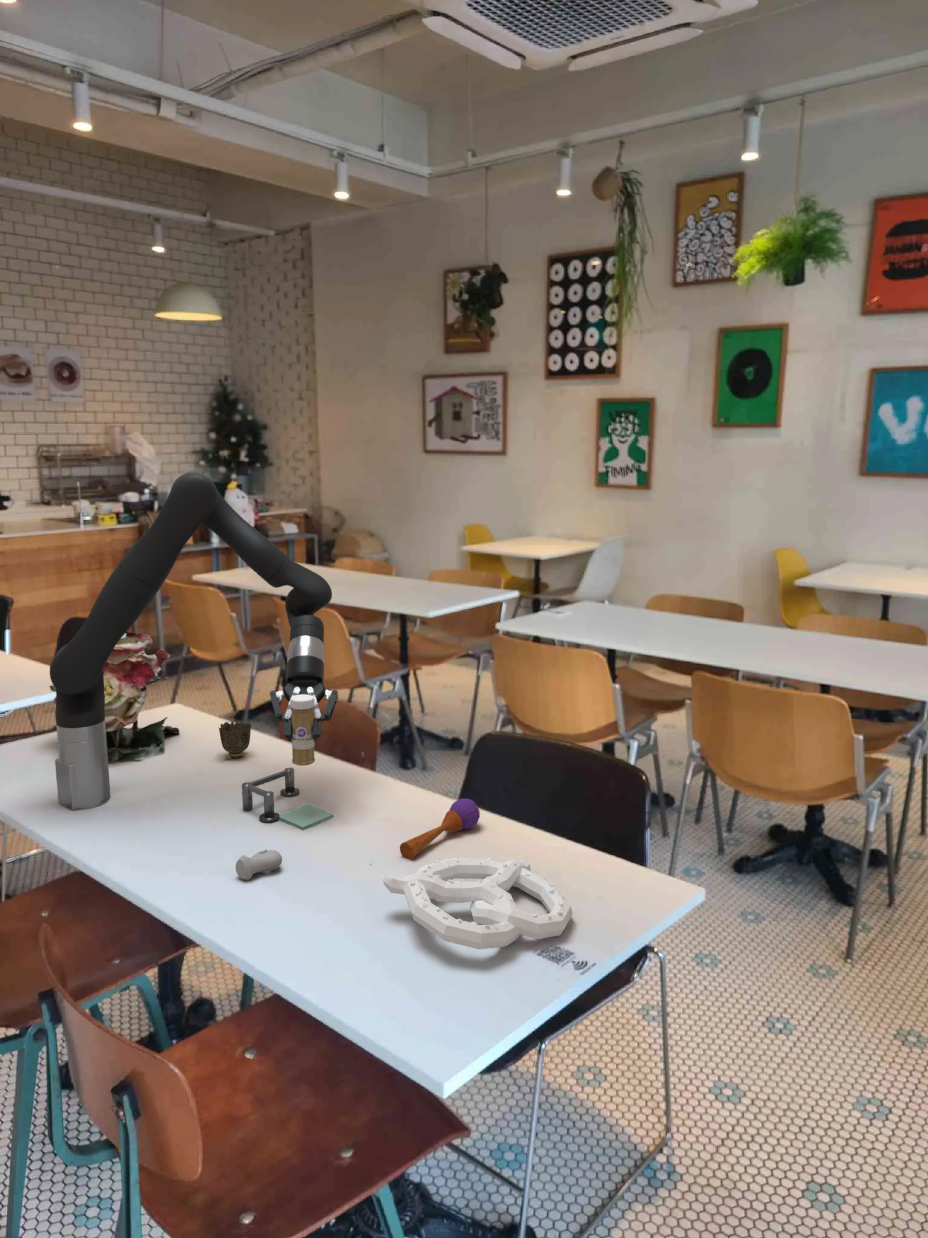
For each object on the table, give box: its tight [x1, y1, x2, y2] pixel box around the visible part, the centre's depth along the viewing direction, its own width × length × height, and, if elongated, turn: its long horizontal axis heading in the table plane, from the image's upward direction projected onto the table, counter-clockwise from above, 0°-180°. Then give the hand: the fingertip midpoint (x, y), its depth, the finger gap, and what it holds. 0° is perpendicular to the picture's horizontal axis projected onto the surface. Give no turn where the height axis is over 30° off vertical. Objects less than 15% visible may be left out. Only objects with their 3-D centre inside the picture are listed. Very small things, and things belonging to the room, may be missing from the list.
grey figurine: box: [235, 849, 283, 881], centre depth 153 cm, size 4×8×5 cm
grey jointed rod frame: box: [241, 767, 301, 824], centre depth 181 cm, size 15×11×6 cm
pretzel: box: [382, 856, 573, 950], centre depth 139 cm, size 28×24×6 cm
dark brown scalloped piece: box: [218, 720, 252, 760], centre depth 208 cm, size 8×7×8 cm
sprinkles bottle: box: [290, 694, 316, 766], centre depth 172 cm, size 5×5×14 cm
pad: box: [278, 803, 335, 831], centre depth 176 cm, size 8×8×1 cm
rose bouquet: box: [48, 631, 180, 765], centre depth 210 cm, size 26×29×30 cm
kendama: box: [399, 798, 481, 861], centre depth 166 cm, size 6×6×20 cm
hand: (302, 738), depth 171 cm, fingers closed on sprinkles bottle, 4 cm apart
